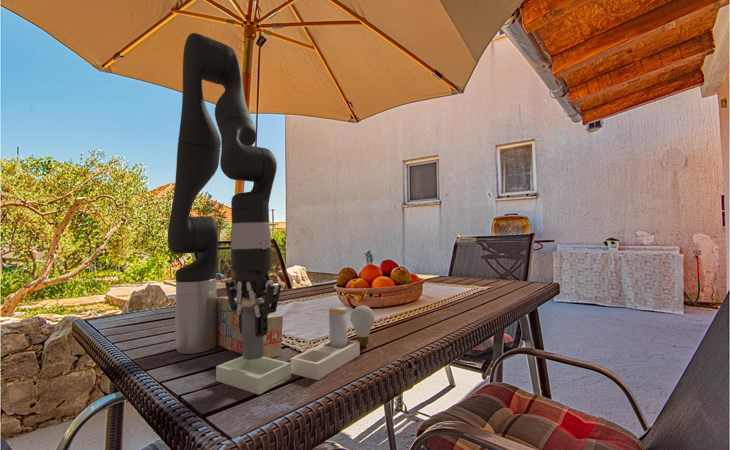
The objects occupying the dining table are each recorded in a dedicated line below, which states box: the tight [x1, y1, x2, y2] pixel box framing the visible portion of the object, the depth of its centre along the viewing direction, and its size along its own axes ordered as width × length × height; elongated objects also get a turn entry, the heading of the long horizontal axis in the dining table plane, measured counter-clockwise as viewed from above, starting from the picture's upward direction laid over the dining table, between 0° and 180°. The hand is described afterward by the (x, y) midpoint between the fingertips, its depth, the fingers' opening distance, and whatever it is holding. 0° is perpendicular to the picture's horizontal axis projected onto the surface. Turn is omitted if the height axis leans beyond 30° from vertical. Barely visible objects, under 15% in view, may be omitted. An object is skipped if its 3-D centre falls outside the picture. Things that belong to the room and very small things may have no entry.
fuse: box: [328, 306, 349, 349], centre depth 77 cm, size 4×4×11 cm
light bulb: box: [350, 305, 375, 348], centre depth 84 cm, size 6×6×10 cm
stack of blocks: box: [217, 295, 284, 359], centre depth 84 cm, size 21×6×12 cm, turn 49°
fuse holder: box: [290, 339, 361, 381], centre depth 73 cm, size 7×15×3 cm, turn 149°
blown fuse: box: [242, 298, 264, 360], centre depth 66 cm, size 4×4×11 cm
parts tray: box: [215, 355, 292, 395], centre depth 66 cm, size 12×8×3 cm, turn 58°
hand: (253, 333), depth 66 cm, fingers closed on blown fuse, 4 cm apart
